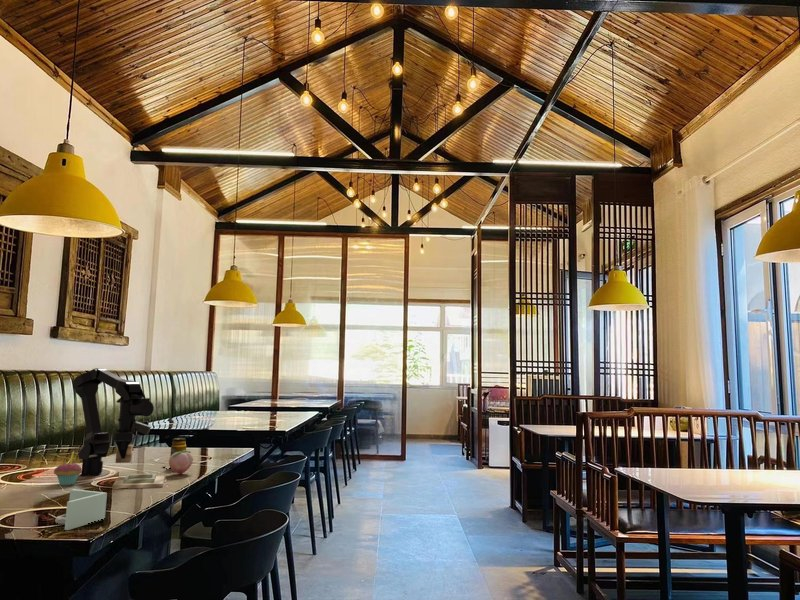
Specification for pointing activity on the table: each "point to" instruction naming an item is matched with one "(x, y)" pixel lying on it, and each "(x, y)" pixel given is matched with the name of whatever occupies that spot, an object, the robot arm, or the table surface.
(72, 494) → the l-shaped corner panel
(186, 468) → the decorative fruit
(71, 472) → the cupcake
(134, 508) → the table surface
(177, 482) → the table surface
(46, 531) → the table surface
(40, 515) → the table surface
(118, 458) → the block
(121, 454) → the robot arm
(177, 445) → the condiment
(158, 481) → the board
